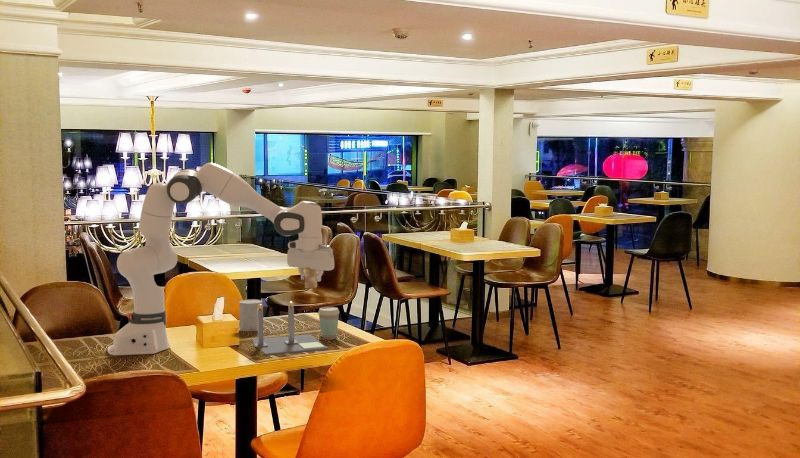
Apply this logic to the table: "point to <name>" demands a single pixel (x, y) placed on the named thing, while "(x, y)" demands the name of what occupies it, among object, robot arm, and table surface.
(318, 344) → the pad
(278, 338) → the mat
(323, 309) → the coffee cup
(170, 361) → the table surface
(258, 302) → the grey canister
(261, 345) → the gate
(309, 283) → the block
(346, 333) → the table surface
